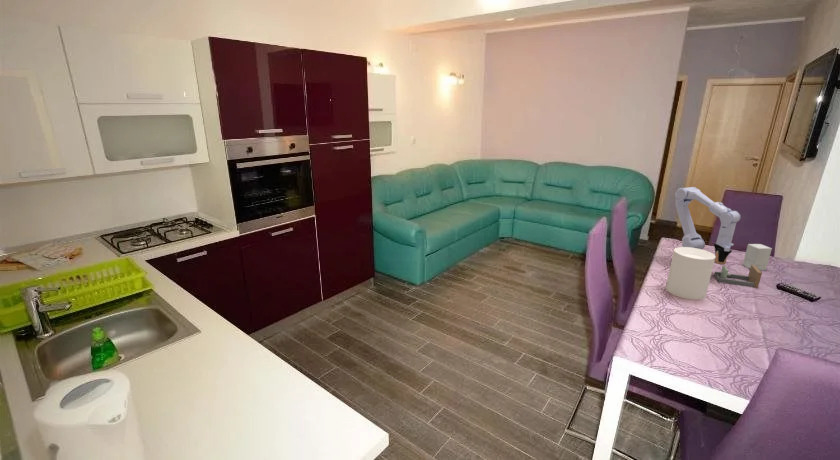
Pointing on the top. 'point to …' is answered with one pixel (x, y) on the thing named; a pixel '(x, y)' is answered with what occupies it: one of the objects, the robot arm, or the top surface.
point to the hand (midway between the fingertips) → (719, 259)
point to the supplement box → (757, 256)
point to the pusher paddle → (724, 272)
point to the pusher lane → (742, 278)
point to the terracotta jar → (717, 259)
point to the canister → (690, 273)
